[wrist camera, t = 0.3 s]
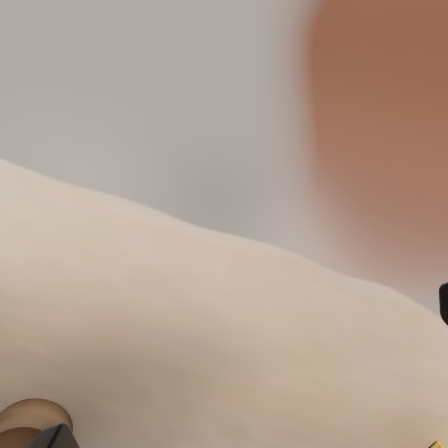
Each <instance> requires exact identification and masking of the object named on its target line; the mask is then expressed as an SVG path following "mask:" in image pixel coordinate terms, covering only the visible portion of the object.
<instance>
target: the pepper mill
mask: <svg viewBox="0 0 448 448" xmlns="http://www.w3.org/2000/svg"><path fill="white" fill-rule="evenodd" d="M62 422H63V423H66V424H67V425H68V426H69V427H70V429H71V431H72V432H73V424H72V420H71V418H70V416H69V414H68V413H67V411H66V410H65V409H64V408H62V407H61V406H60V405H58V404H56V403H54V402H52V401H49V400H44V399H28V400H23V401H20V402H17V403H15V404H12V405H11V406H9V407H7V408H6V409H5V410H4V411H3V412H2V413H1V414H0V448H27V447H28V446H29V445H30V444H31V443H32V441H33V440H34V439H35V438H36V437H37V436H38V435H39V434H40V432H41V431H42V430H44V429H46V428H48V427H51V426H53V425H56V424H59V423H62Z"/></svg>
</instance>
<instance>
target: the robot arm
mask: <svg viewBox="0 0 448 448" xmlns="http://www.w3.org/2000/svg"><path fill="white" fill-rule="evenodd" d="M439 302H440V315H441V317H442V319H443V321H444V322H445V323H446V324H447V325H448V283H445V284H442V285H441V286H440V288H439ZM27 448H79V446H78V444H77V442H76V440H75V438H74V436H73V434H72V431H71V429H70V427H69V426H68V425H67V424H66V423H63V422H62V423H59V424H56V425H53V426H51V427H48V428H46V429H44V430H42V431H41V432H40V434H39V435H38V436H37V437H36V438H35V439H34V440H33V441H32V443H31V444H30V445H29V446H28V447H27Z"/></svg>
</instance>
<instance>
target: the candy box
mask: <svg viewBox="0 0 448 448" xmlns="http://www.w3.org/2000/svg"><path fill="white" fill-rule="evenodd" d="M430 448H444V447H443V446H442V445H441V444H440V443H439V442H436V443H435V444H434V445H433V446H432V447H430Z"/></svg>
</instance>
